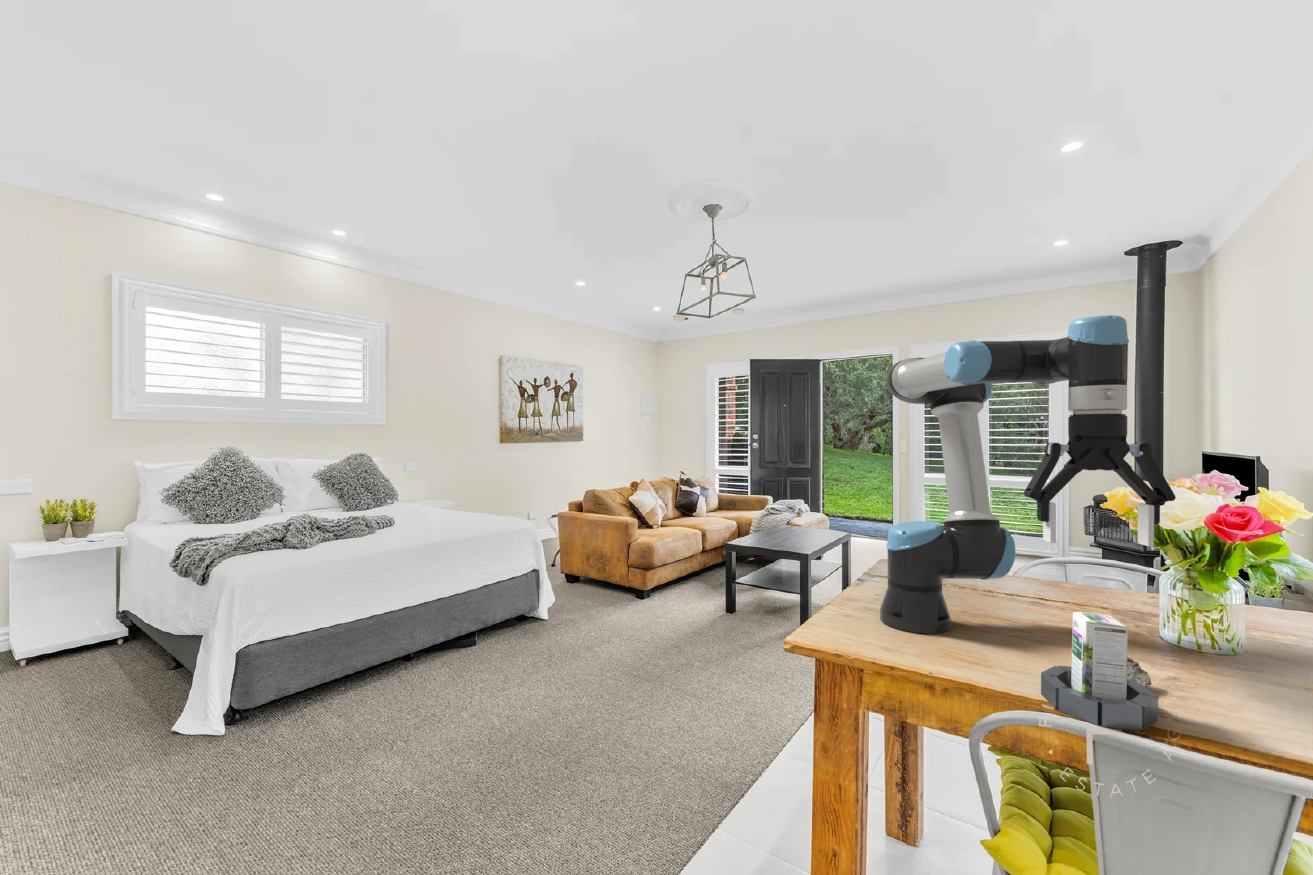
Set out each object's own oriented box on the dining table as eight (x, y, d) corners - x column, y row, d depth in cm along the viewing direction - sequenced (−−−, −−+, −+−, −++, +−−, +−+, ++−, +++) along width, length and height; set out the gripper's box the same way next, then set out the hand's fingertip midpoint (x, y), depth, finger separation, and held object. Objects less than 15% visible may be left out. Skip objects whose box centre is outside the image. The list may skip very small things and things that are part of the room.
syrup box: (1069, 695, 94) (1069, 610, 94) (1111, 700, 92) (1111, 613, 92) (1084, 711, 88) (1084, 621, 88) (1129, 717, 87) (1129, 625, 86)
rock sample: (1088, 671, 94) (1101, 630, 98) (1067, 684, 100) (1080, 644, 104) (1161, 711, 90) (1171, 666, 93) (1134, 722, 95) (1145, 679, 99)
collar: (1069, 723, 85) (1069, 700, 85) (1029, 682, 99) (1029, 663, 99) (1177, 733, 82) (1177, 710, 82) (1121, 690, 95) (1121, 670, 95)
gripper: (1020, 413, 89) (1020, 544, 89) (1206, 411, 83) (1205, 551, 83) (1002, 414, 96) (1002, 535, 96) (1172, 412, 90) (1171, 541, 91)
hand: (1096, 543), depth 90 cm, fingers open, 13 cm apart
